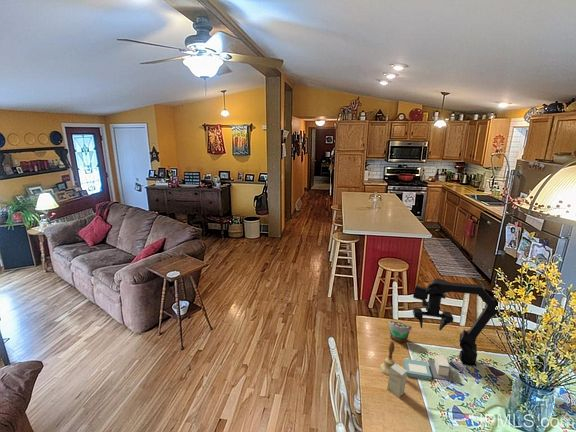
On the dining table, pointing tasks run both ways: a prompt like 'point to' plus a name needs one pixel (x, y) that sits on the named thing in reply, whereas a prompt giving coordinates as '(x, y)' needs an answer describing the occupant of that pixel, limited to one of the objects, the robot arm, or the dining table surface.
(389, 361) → the hand bell
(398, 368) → the skincare box
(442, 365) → the stub
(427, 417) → the dining table surface
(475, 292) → the robot arm
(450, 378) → the mat
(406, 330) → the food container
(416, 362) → the ticket book
